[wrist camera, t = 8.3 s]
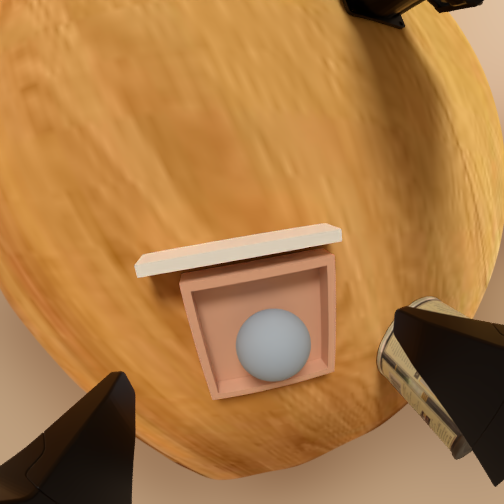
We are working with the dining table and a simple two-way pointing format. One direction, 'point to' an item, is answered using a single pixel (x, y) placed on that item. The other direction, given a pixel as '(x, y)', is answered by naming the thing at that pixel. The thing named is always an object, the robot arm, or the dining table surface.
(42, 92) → the dining table surface
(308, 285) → the dish
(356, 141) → the dining table surface
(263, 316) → the ball
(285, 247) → the wall
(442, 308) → the coffee can
